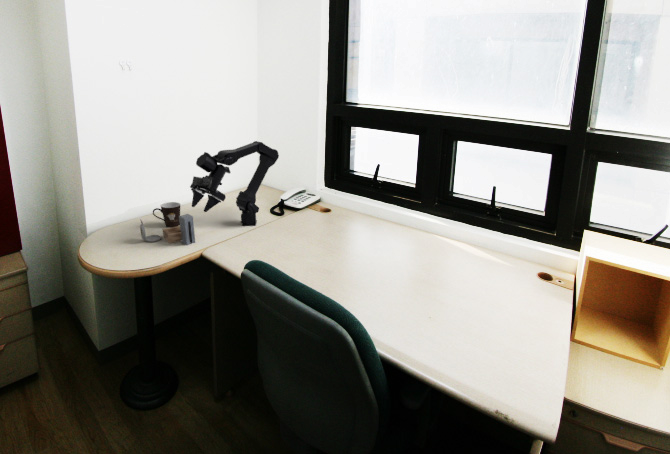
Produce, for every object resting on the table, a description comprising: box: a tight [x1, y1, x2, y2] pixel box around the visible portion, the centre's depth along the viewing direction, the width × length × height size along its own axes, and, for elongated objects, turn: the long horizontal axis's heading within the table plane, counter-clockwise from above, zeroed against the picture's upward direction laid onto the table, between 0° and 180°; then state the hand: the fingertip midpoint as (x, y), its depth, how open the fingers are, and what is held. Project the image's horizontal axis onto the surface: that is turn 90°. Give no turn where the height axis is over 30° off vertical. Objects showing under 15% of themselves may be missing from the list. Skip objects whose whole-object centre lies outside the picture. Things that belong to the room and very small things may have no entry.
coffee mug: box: [152, 201, 181, 228], centre depth 209 cm, size 12×9×10 cm
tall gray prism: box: [179, 213, 196, 246], centre depth 189 cm, size 4×4×12 cm
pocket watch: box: [139, 218, 162, 243], centre depth 191 cm, size 8×8×10 cm
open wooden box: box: [162, 225, 182, 244], centre depth 195 cm, size 10×9×4 cm
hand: (198, 209), depth 191 cm, fingers open, 9 cm apart
